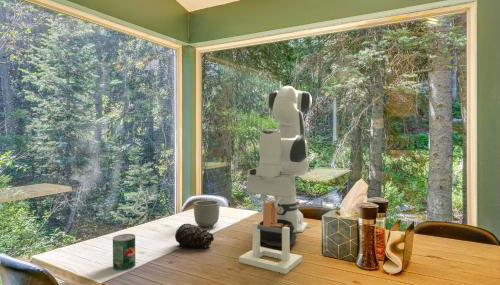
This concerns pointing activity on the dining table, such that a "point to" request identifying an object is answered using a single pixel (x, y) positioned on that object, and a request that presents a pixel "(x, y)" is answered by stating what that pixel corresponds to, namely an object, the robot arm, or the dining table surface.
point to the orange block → (269, 213)
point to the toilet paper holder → (271, 251)
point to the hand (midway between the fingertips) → (270, 207)
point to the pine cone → (193, 237)
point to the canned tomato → (123, 252)
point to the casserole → (275, 237)
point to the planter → (206, 213)
